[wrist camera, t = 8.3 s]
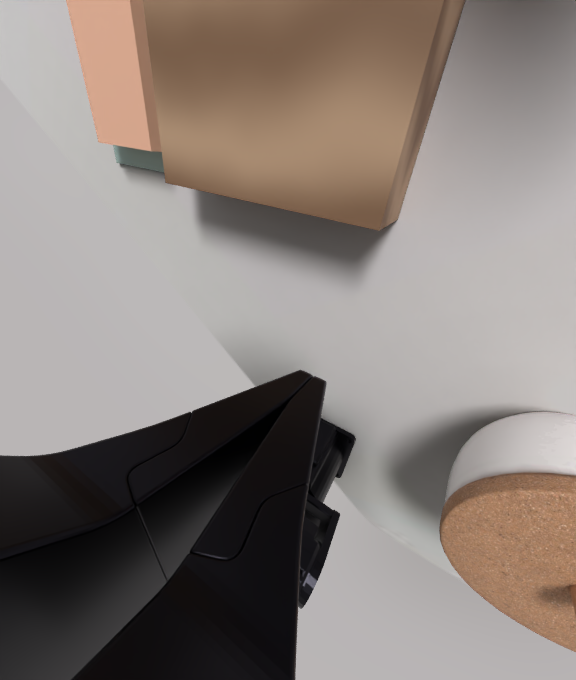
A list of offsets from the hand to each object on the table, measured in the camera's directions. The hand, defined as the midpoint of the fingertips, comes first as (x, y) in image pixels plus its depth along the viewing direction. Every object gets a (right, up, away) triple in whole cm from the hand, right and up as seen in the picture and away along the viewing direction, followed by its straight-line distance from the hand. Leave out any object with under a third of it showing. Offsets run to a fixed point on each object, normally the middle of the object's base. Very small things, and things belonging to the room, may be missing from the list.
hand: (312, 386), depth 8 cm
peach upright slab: (-12, +19, +10) cm, 25 cm away
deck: (0, +16, +7) cm, 17 cm away
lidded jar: (+16, -5, +9) cm, 19 cm away
